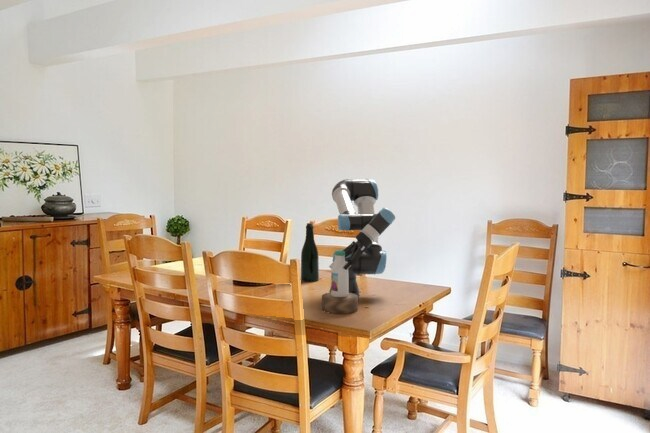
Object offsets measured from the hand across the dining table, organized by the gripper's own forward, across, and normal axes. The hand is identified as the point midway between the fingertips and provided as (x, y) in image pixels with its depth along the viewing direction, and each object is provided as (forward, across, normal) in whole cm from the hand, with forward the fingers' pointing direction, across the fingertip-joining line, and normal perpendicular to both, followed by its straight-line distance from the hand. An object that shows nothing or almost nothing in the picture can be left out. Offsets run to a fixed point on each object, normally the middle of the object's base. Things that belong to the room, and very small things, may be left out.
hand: (334, 271), depth 220 cm
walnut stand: (+10, 0, -14) cm, 17 cm away
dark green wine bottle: (+11, +67, -14) cm, 69 cm away
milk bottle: (+6, 0, -10) cm, 12 cm away
